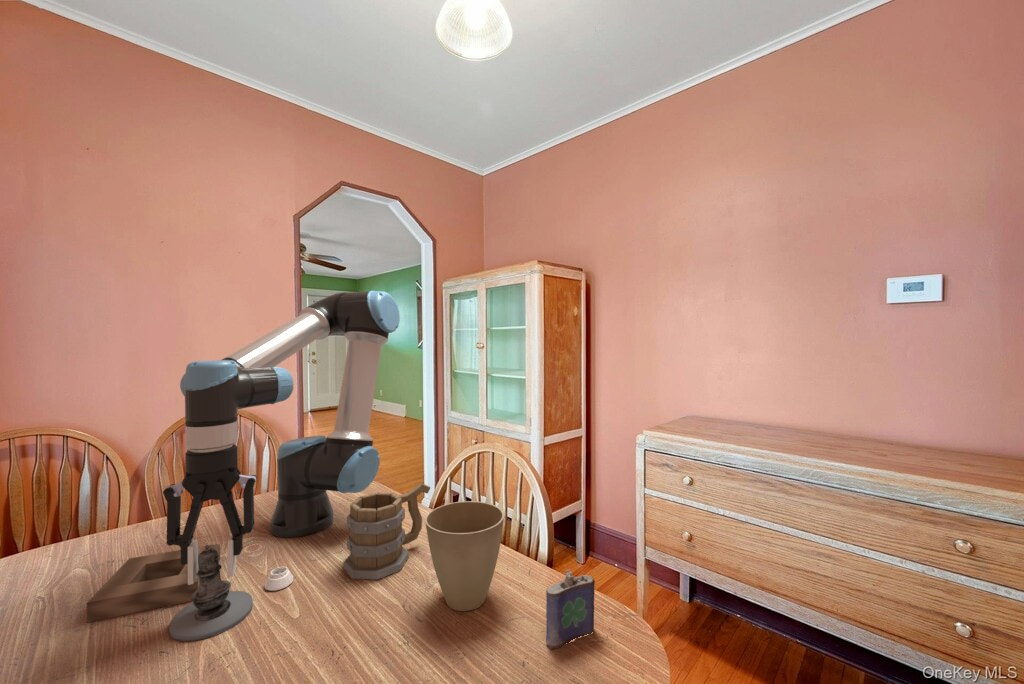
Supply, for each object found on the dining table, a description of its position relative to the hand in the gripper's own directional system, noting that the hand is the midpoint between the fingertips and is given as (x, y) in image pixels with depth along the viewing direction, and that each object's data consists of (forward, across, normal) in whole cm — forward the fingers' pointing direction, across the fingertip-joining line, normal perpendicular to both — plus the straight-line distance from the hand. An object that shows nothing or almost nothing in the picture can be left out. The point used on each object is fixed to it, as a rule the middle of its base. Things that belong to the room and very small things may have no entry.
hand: (212, 576), depth 73 cm
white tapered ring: (+8, -10, -6) cm, 14 cm away
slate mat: (+7, 0, 0) cm, 7 cm away
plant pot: (+7, -43, +13) cm, 46 cm away
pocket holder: (+7, +12, -15) cm, 21 cm away
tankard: (+8, -32, -8) cm, 34 cm away
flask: (+8, -56, +30) cm, 64 cm away
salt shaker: (+6, 0, 0) cm, 6 cm away
